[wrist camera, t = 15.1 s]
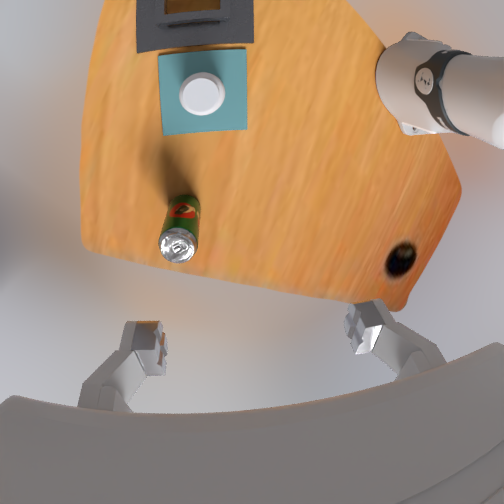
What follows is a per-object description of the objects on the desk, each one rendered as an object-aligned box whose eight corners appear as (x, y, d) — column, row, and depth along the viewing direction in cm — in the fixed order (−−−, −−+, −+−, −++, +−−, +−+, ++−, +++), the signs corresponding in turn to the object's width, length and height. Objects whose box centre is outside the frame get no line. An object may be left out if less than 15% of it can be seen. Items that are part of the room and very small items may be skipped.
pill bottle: (176, 94, 35) (164, 98, 27) (202, 66, 33) (199, 61, 25) (205, 117, 37) (202, 128, 29) (231, 90, 36) (236, 92, 28)
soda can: (163, 203, 44) (149, 243, 34) (189, 187, 43) (182, 224, 34) (180, 227, 47) (172, 271, 37) (206, 212, 46) (205, 254, 36)
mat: (245, 49, 33) (246, 49, 32) (246, 128, 39) (247, 129, 39) (158, 56, 32) (158, 56, 31) (163, 135, 38) (163, 135, 38)
